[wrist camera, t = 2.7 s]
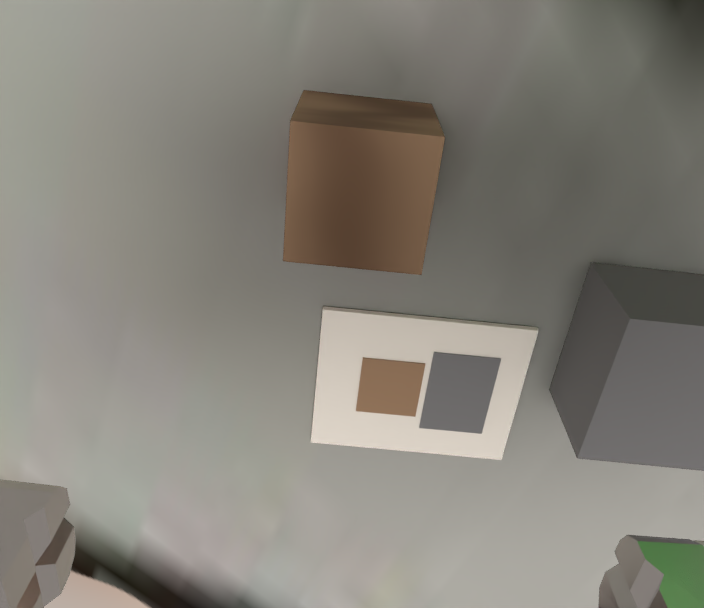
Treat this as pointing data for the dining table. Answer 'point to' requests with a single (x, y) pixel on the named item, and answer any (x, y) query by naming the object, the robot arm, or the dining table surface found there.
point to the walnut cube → (361, 182)
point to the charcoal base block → (635, 368)
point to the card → (418, 382)
